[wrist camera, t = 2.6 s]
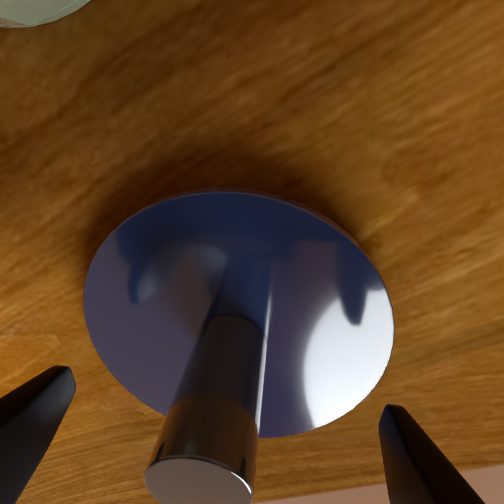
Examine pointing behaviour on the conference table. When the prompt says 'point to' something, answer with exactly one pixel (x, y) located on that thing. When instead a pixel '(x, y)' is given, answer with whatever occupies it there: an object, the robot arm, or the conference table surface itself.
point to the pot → (35, 11)
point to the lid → (234, 330)
